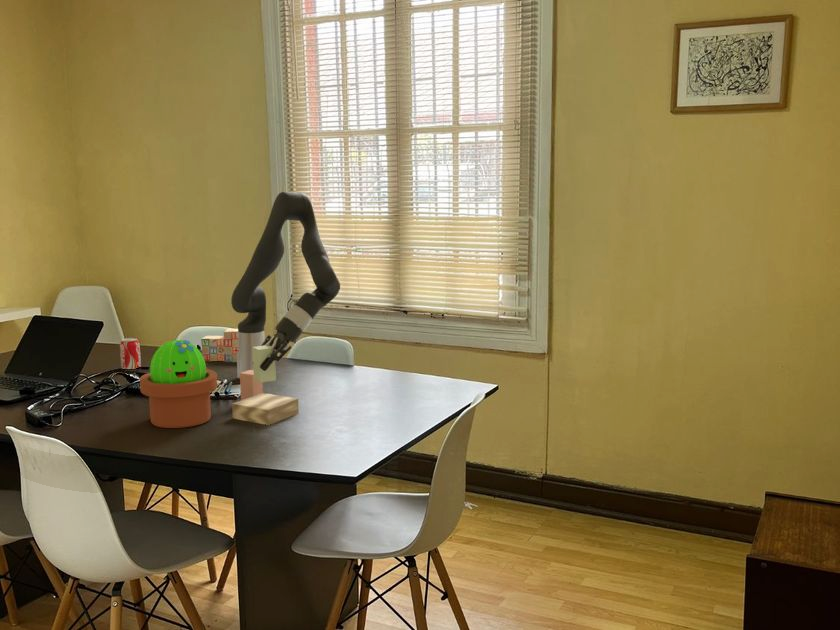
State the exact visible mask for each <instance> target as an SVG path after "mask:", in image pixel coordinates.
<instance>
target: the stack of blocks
mask: <svg viewBox="0 0 840 630" xmlns="http://www.w3.org/2000/svg"><path fill="white" fill-rule="evenodd" d="M200 341H201V350H202V351H201V354H202V356H203V358H204V360H205V362H211V361H225V362H224V363H237V352H239V342H238V328H227V329H225V330H224V331H223V335H205V336H203V337H202V338H201V339H200Z"/></svg>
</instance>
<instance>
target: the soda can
mask: <svg viewBox="0 0 840 630" xmlns="http://www.w3.org/2000/svg"><path fill="white" fill-rule="evenodd" d="M140 348H141V346H140V342H139V340H138V338H136V337H127V338H122V339H121V340H120V343H119V354H120V355H119V356H120V357H119V358H120V367H121V370H122V369H136V368H139V367H141V366H142V362H141V361H142V360H141V358H142V357H141V349H140ZM141 368H142V367H141Z"/></svg>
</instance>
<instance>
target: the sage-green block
mask: <svg viewBox="0 0 840 630" xmlns="http://www.w3.org/2000/svg"><path fill="white" fill-rule="evenodd" d="M271 347H272V346H257V347H253V367H254V380H256V381H258V382H260V383H262V382H263V383H266V382H273V381H277V373H276V372H277V371H276V361H275V362H272V364H271V365H270V366H269V367H268V368H267V370H266V371H264V370H262V369H261V368H260V365H261V364H262V363H263V361H264V360H265V359H266V358H267V357H268V355H269V353H270V352H271V349H272V348H271Z"/></svg>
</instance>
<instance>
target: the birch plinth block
mask: <svg viewBox="0 0 840 630" xmlns="http://www.w3.org/2000/svg"><path fill="white" fill-rule="evenodd" d="M231 408H232V409H231V411H232V419H233V420H234V419H235V420H239V421H244V422H250V423H256V424H260V425H265V424H266V426H270V424H271V425H273V424H275V423H278V422H280V420H281V421H282V420H286V419H288V418H290V417H293V416H296V415H298V414H299V413H300V412H299V398H296V397H290V396H283V395H278V394H271V393H265V392H263V393H261V394H258V395H255V396H252V397H249V398H247V399H244V400H241V399H240V400H237V401H236V402H232V403H231Z"/></svg>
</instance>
